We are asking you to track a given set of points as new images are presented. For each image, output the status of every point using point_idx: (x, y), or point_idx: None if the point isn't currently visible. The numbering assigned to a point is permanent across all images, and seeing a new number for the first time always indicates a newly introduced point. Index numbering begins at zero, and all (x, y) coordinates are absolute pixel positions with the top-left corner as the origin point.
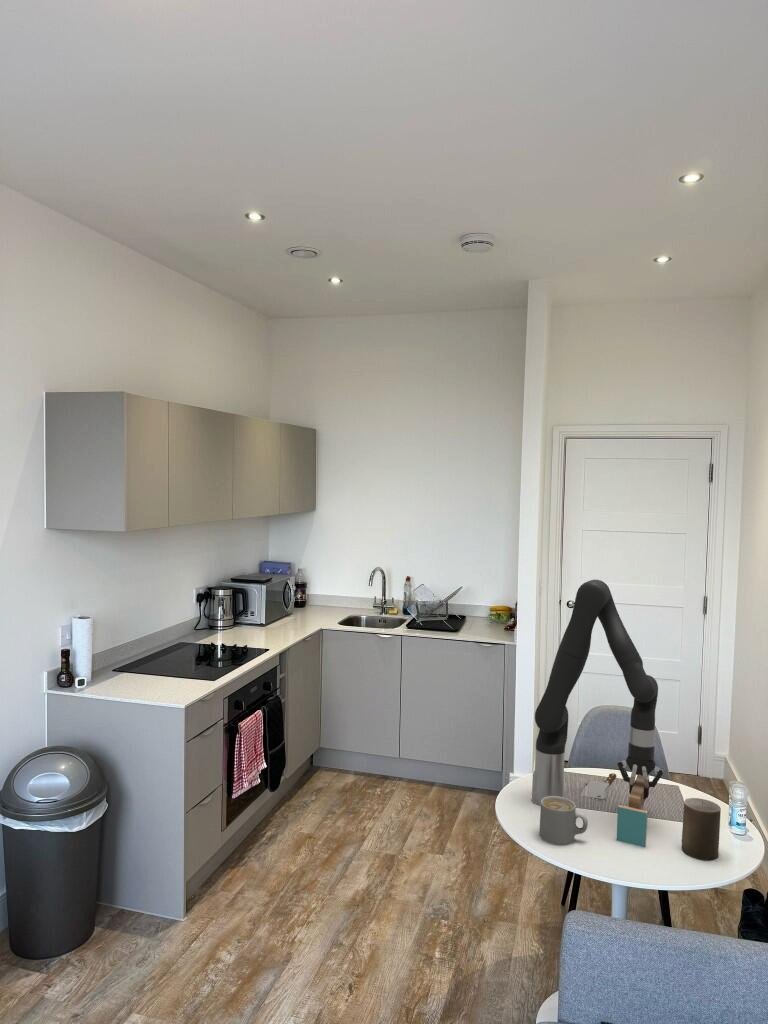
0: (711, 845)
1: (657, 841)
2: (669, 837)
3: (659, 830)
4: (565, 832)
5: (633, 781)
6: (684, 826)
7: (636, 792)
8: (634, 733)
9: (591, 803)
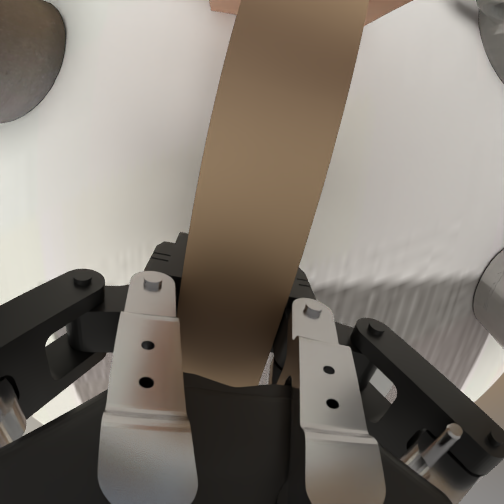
0: None
1: (153, 64)
2: (98, 127)
3: (135, 180)
4: None
5: (297, 319)
6: (3, 6)
7: (285, 84)
8: None
9: None
